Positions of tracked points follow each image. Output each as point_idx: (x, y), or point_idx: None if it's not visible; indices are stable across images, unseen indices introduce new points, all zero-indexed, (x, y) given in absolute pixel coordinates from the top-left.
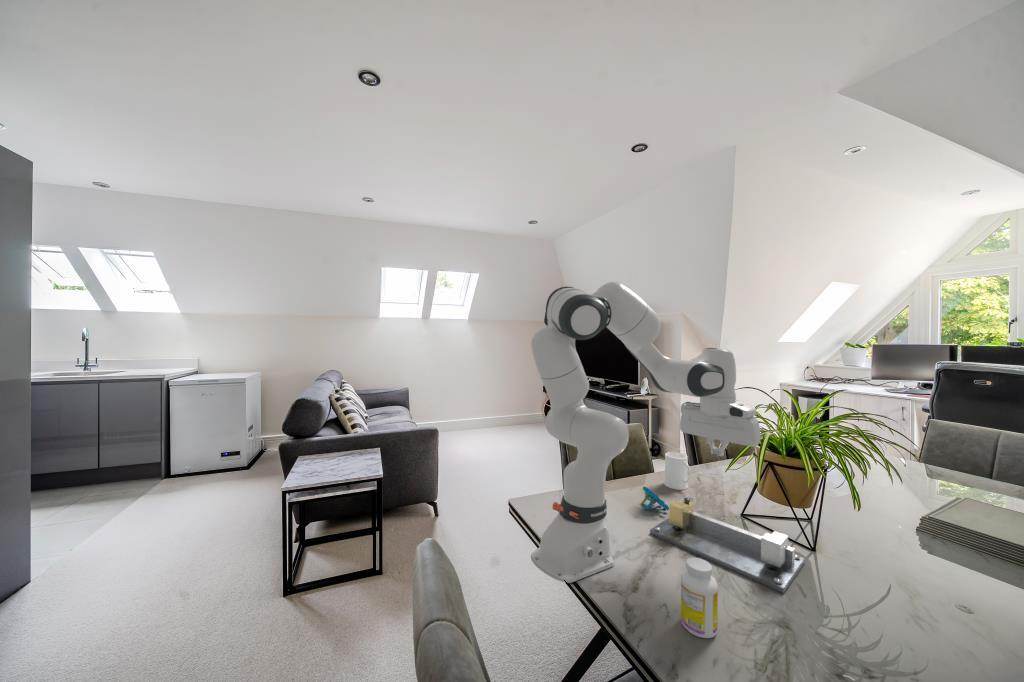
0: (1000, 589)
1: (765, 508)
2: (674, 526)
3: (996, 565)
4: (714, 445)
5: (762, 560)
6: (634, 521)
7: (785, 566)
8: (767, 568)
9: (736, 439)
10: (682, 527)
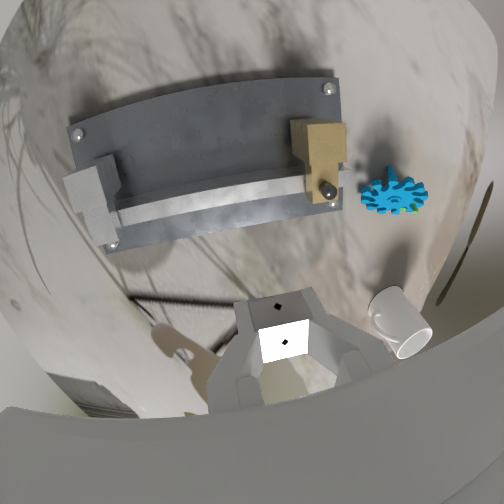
0: (40, 359)
1: None
2: None
3: (71, 392)
4: (317, 356)
5: (129, 176)
6: (380, 100)
7: None
8: None
9: (82, 452)
10: (290, 120)
